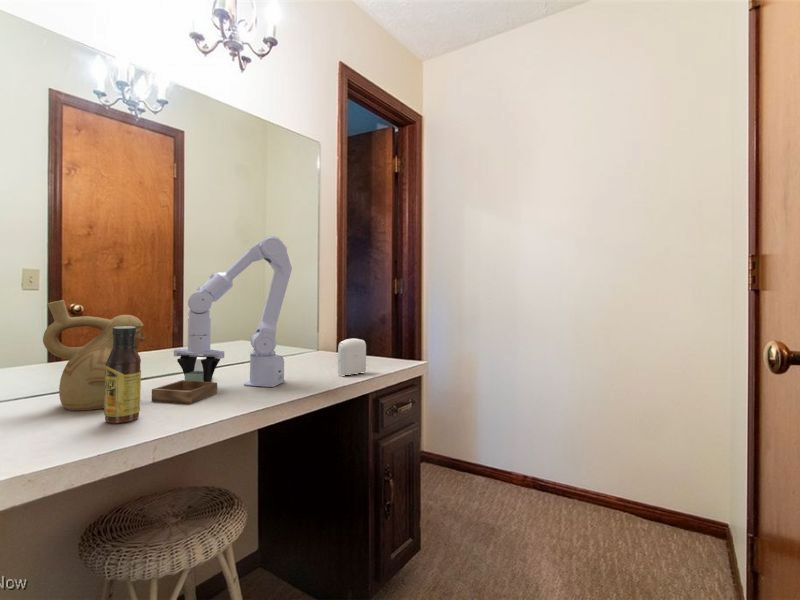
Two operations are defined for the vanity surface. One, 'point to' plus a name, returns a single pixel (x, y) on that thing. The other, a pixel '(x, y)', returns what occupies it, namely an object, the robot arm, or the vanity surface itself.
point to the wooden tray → (184, 392)
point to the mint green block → (195, 376)
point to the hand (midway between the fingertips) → (198, 382)
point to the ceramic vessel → (85, 356)
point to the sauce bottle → (122, 378)
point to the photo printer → (351, 356)
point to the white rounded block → (199, 364)
